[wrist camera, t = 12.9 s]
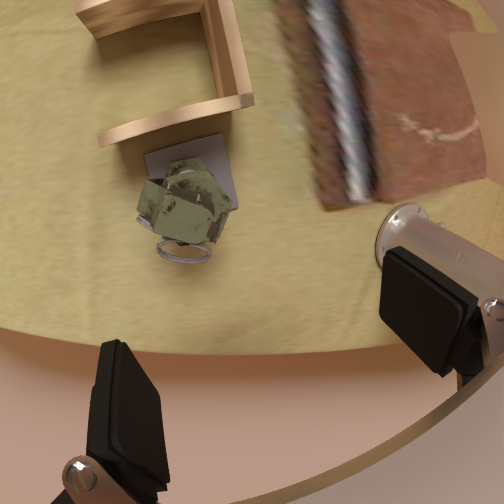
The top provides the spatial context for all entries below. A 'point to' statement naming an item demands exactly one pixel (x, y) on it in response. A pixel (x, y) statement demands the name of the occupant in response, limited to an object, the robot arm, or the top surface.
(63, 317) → the top surface
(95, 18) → the light wood u-shaped frame
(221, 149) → the coaster
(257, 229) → the top surface
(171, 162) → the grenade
